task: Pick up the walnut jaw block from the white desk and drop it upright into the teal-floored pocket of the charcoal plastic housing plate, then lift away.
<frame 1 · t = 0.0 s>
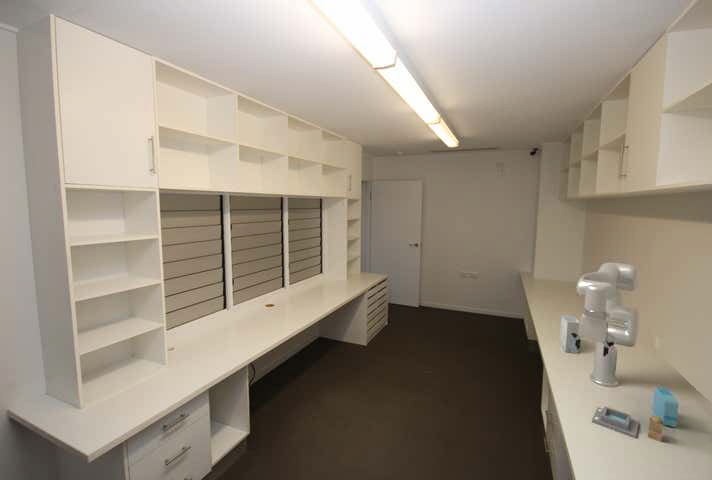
hand: (591, 351, 149), 31 cm above the table, tool pointing down, fingers open, 9 cm apart
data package: (663, 419, 153), on the table
jaw block: (654, 437, 141), on the table
housing: (615, 422, 150), on the table
hard drive box: (568, 348, 226), on the table
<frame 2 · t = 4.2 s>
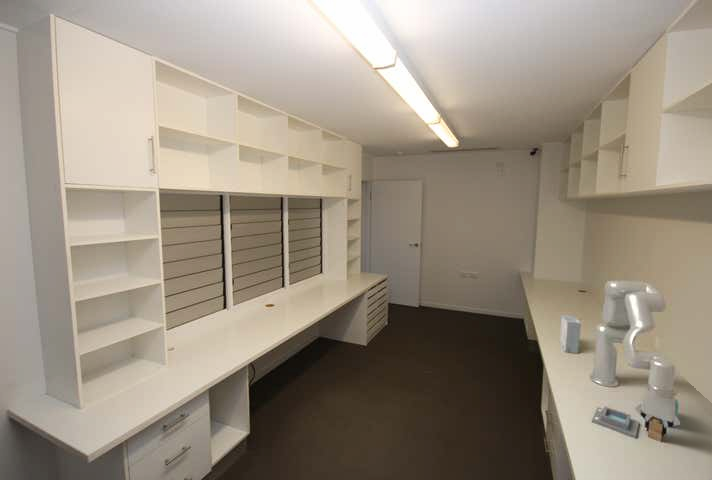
hand: (655, 431, 141), 2 cm above the table, tool pointing down, fingers closed on jaw block, 4 cm apart
jaw block: (654, 437, 141), on the table, touching gripper
everything else where it was.
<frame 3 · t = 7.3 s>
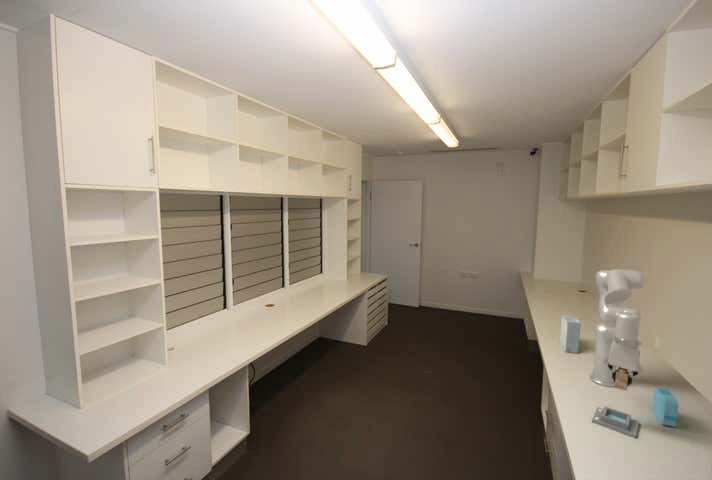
hand: (621, 382, 148), 19 cm above the table, tool pointing down, fingers closed on jaw block, 4 cm apart
jaw block: (621, 387, 148), point 17 cm above the table, touching gripper
everything else where it was.
when the fingers open (5 cm above the table, at t = 10.9 s): jaw block drops 1 cm, resting on housing.
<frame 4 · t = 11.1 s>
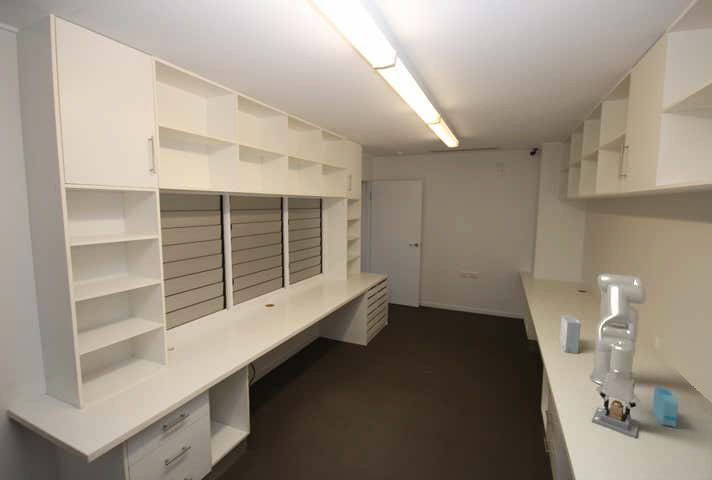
hand: (616, 411, 150), 5 cm above the table, tool pointing down, fingers open, 6 cm apart
jaw block: (615, 420, 150), point 1 cm above the table, touching housing
everything else where it was.
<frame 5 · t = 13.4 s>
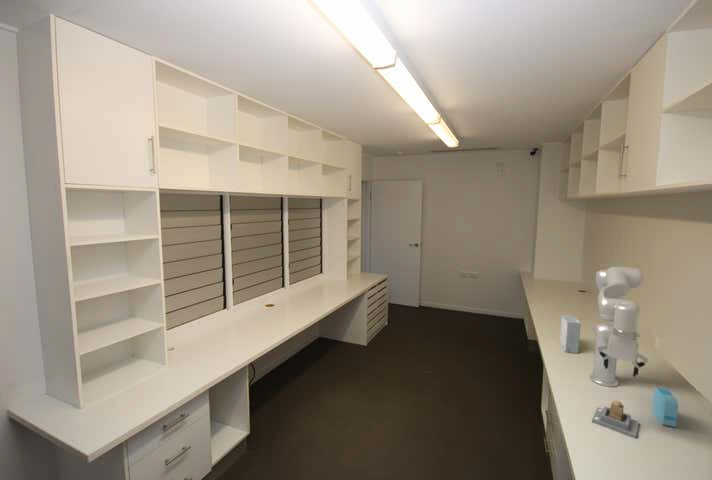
hand: (620, 371, 148), 23 cm above the table, tool pointing down, fingers open, 9 cm apart
nothing on the table moved.
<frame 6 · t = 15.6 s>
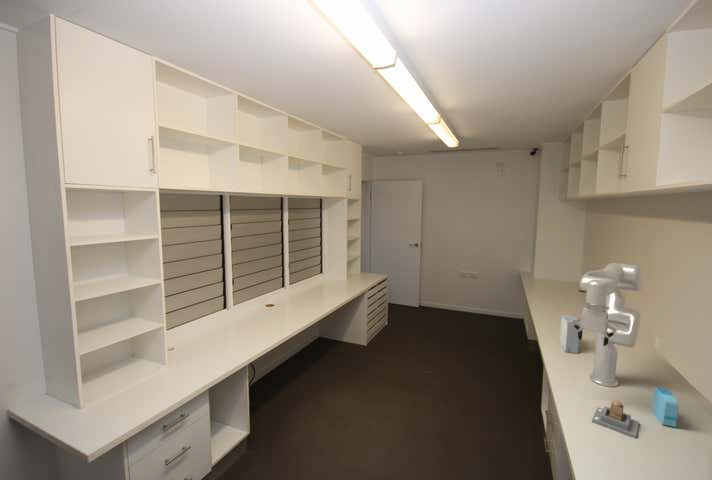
hand: (592, 342, 161), 30 cm above the table, tool pointing down, fingers open, 9 cm apart
nothing on the table moved.
at the end: jaw block 0.1 cm off-centre on the housing, point 1.1 cm above the housing's base; jaw block tilted 0°; the gripper is holding nothing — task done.
